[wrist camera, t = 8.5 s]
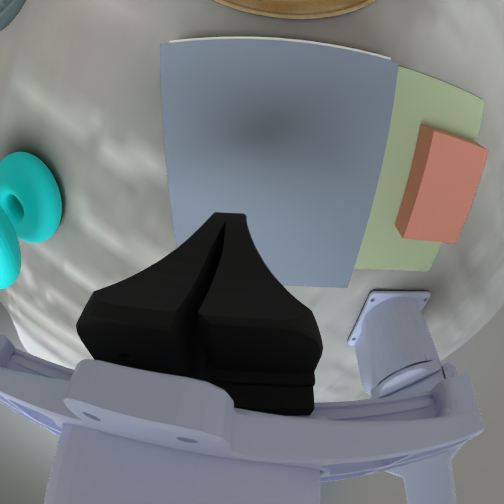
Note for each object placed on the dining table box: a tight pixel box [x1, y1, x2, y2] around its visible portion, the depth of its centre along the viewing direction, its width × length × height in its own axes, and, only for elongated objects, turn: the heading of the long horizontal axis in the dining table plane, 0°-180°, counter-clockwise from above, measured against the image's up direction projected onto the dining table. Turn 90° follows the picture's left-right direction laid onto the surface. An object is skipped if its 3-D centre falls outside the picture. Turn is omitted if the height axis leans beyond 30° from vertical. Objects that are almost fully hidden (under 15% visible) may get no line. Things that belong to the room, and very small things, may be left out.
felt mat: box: [354, 66, 485, 272], centre depth 20 cm, size 18×9×1 cm, turn 178°
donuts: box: [0, 152, 62, 289], centre depth 18 cm, size 10×10×10 cm
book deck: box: [160, 37, 399, 288], centre depth 19 cm, size 18×14×3 cm
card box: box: [395, 124, 489, 244], centre depth 18 cm, size 9×6×2 cm, turn 178°
